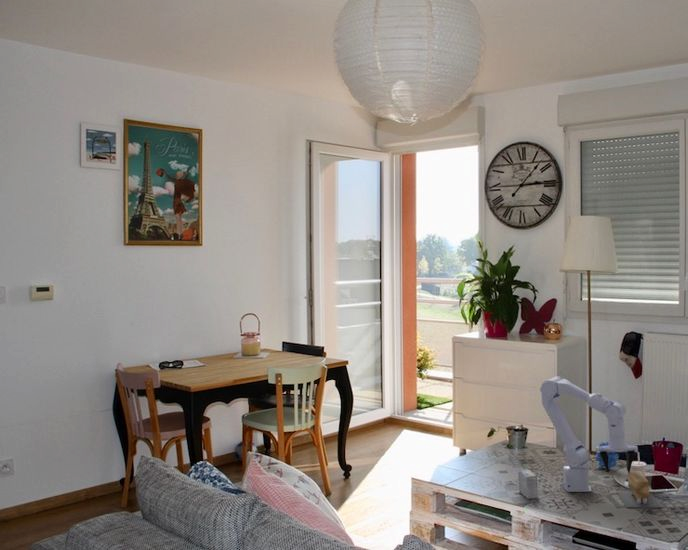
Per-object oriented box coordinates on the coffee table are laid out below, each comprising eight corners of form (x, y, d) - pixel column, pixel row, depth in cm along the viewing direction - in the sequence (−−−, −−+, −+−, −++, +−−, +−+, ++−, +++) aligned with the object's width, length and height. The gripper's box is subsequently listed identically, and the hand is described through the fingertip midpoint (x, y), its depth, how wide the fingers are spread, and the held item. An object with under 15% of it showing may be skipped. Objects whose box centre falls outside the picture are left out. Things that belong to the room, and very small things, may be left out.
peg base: (627, 508, 263) (626, 500, 263) (617, 492, 279) (616, 485, 279) (662, 508, 262) (661, 499, 262) (650, 492, 277) (649, 484, 277)
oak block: (636, 498, 265) (635, 481, 264) (628, 486, 276) (627, 471, 276) (649, 498, 264) (648, 481, 264) (640, 486, 276) (640, 471, 276)
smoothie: (648, 491, 279) (647, 455, 279) (631, 491, 280) (629, 454, 280) (645, 485, 285) (644, 450, 285) (628, 485, 287) (626, 450, 286)
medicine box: (538, 498, 279) (537, 475, 278) (527, 499, 278) (526, 476, 277) (529, 491, 286) (528, 469, 286) (519, 492, 286) (518, 470, 285)
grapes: (625, 470, 304) (624, 442, 304) (615, 474, 301) (613, 445, 300) (603, 464, 314) (601, 436, 314) (592, 467, 311) (591, 439, 310)
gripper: (598, 438, 272) (599, 474, 273) (639, 437, 270) (640, 474, 271) (594, 433, 279) (596, 468, 280) (634, 432, 277) (635, 468, 278)
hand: (617, 471), depth 276 cm, fingers open, 7 cm apart
